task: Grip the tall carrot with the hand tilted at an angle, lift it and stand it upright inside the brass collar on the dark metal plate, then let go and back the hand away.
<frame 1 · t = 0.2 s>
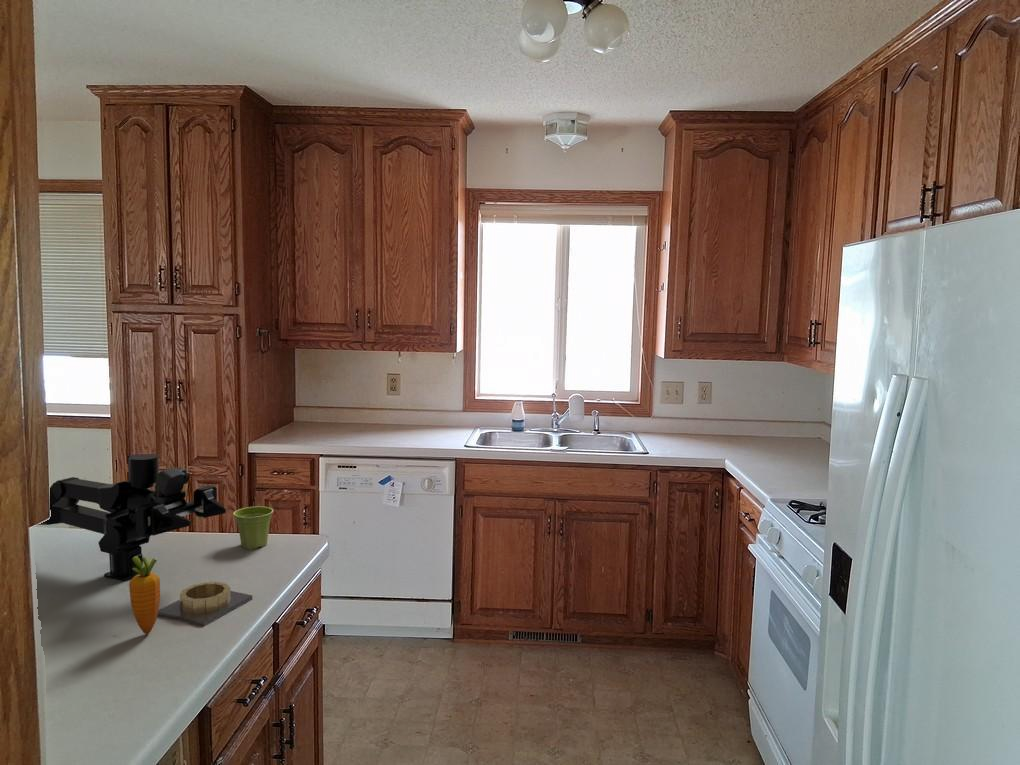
hand: (208, 516, 143), 17 cm above the countertop, tool horizontal, fingers open, 9 cm apart
plant pot: (254, 545, 175), on the countertop
carrot: (147, 635, 128), on the countertop
collar plate: (205, 606, 139), on the countertop
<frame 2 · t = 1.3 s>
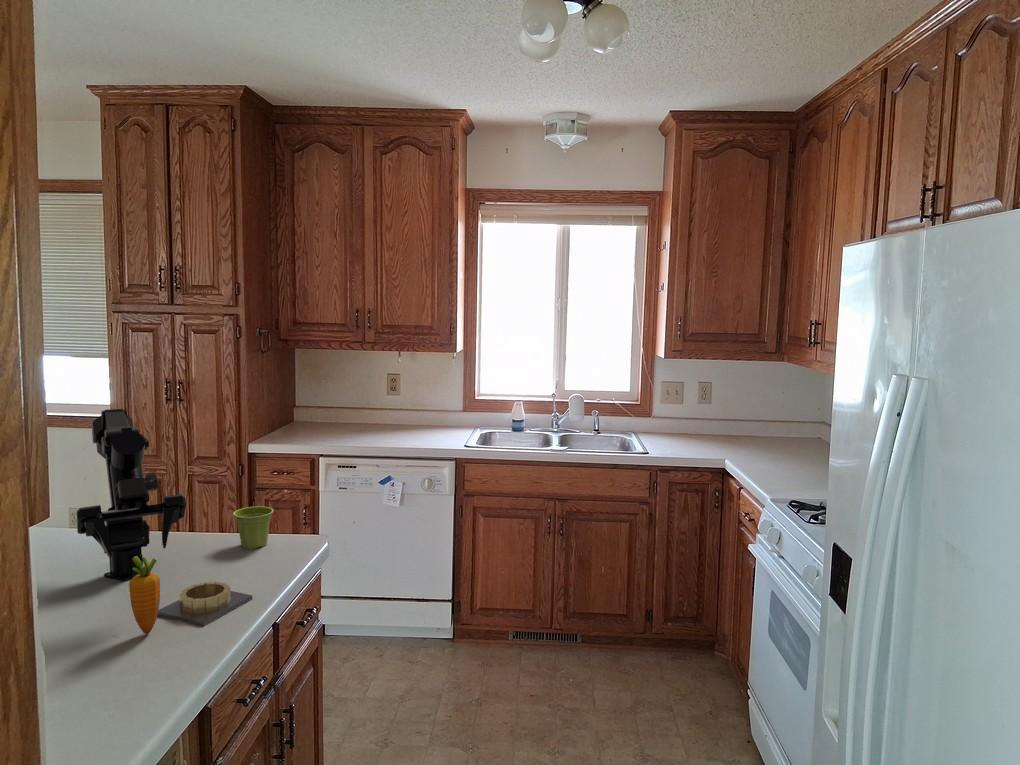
hand: (138, 551, 132), 13 cm above the countertop, tool tilted 45°, fingers open, 9 cm apart
nothing on the countertop moved.
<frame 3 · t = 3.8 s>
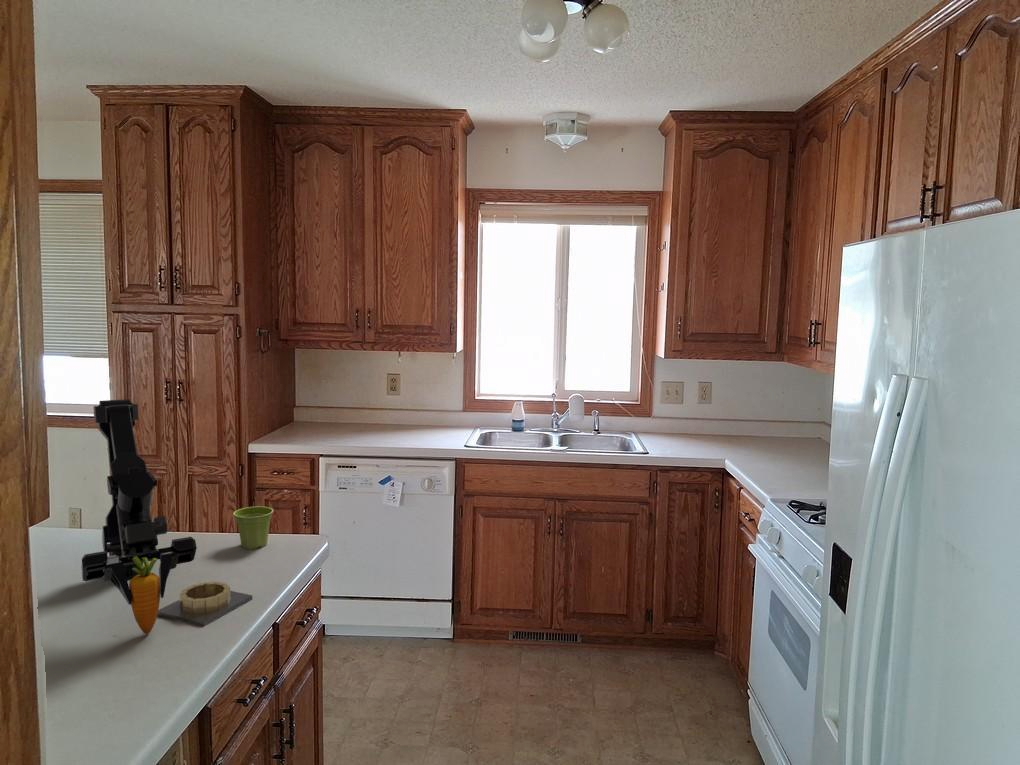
hand: (146, 600, 126), 7 cm above the countertop, tool tilted 45°, fingers closed on carrot, 5 cm apart
carrot: (147, 635, 128), on the countertop, touching gripper
everything else where it was.
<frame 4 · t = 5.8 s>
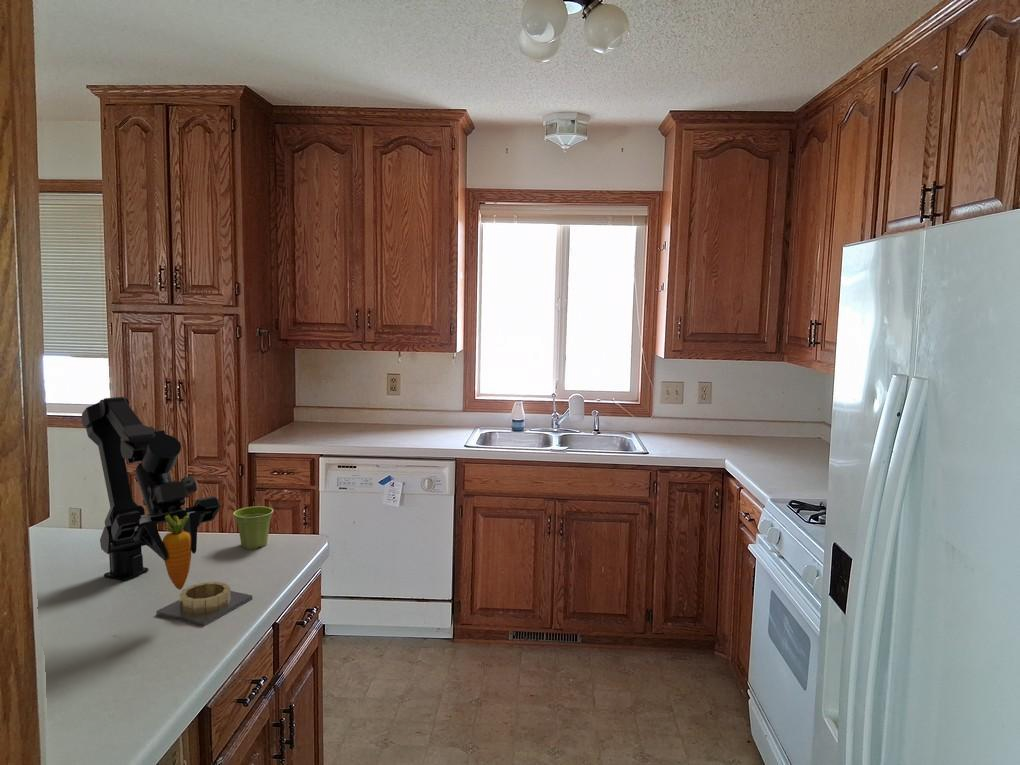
hand: (180, 555, 131), 13 cm above the countertop, tool tilted 45°, fingers closed on carrot, 5 cm apart
carrot: (180, 590, 133), point 6 cm above the countertop, touching gripper
everything else where it was.
when the fingers open (9 cm above the countertop, at t = 7.7 s): carrot drops 1 cm, resting on collar plate.
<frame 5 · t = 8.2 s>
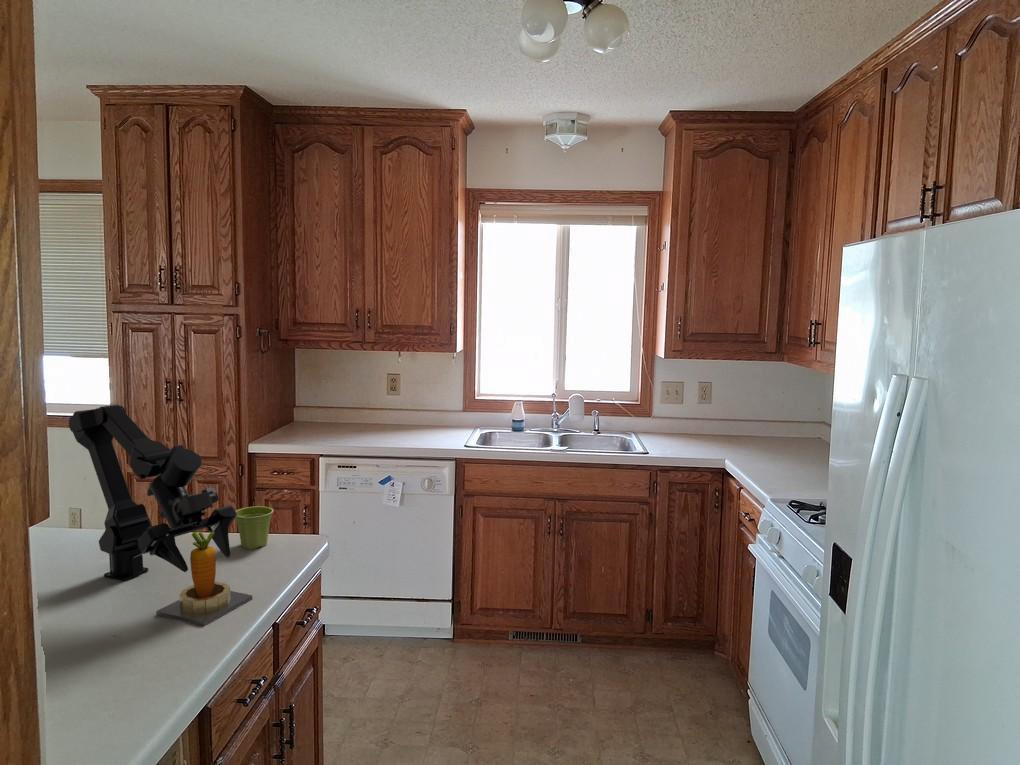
hand: (208, 563, 137), 9 cm above the countertop, tool tilted 45°, fingers open, 9 cm apart
carrot: (205, 603, 139), point 1 cm above the countertop, touching collar plate
everything else where it was.
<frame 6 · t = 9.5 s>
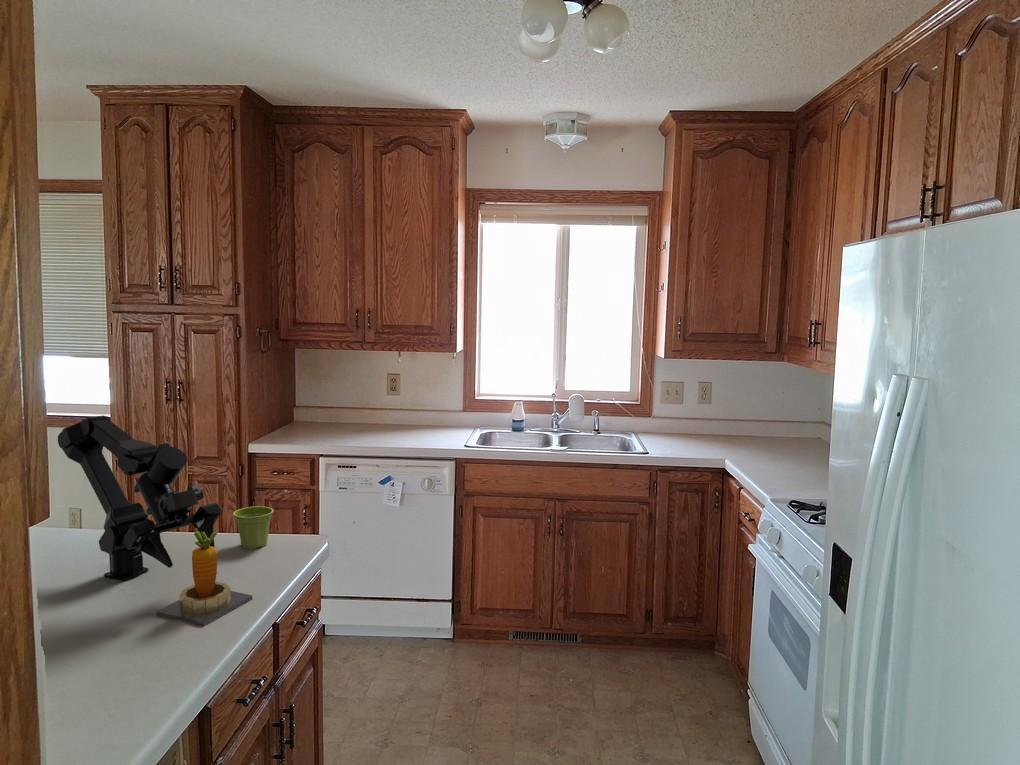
hand: (192, 559, 140), 9 cm above the countertop, tool tilted 45°, fingers open, 9 cm apart
nothing on the countertop moved.
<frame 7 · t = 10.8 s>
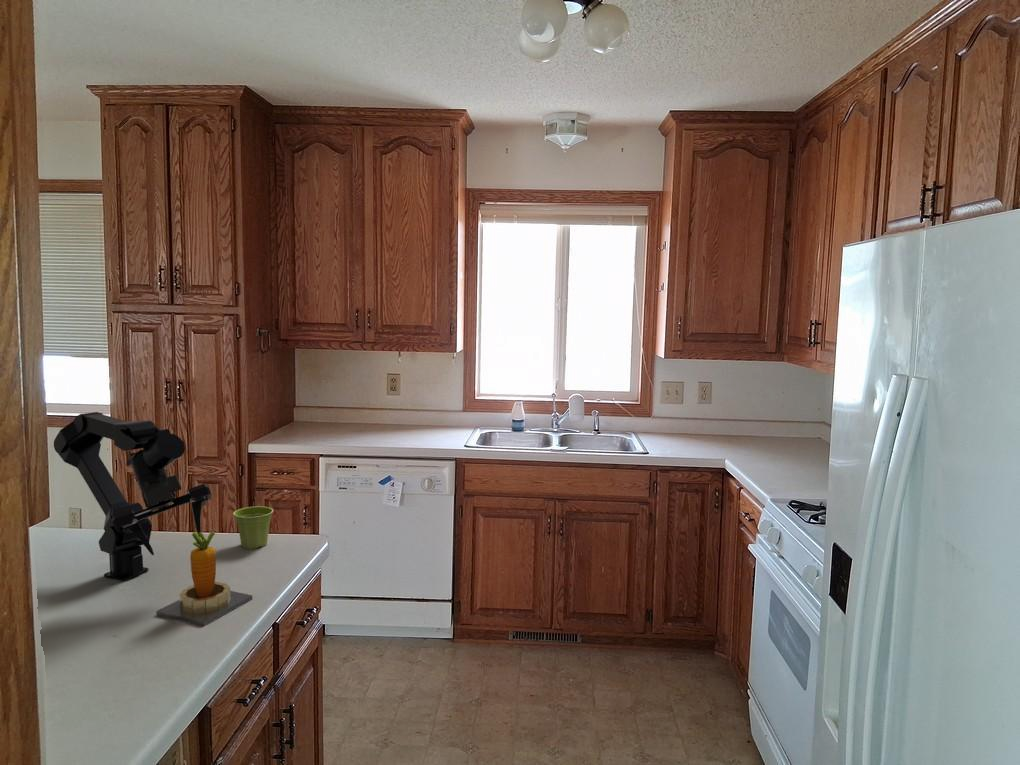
hand: (176, 545, 144), 10 cm above the countertop, tool tilted 30°, fingers open, 9 cm apart
nothing on the countertop moved.
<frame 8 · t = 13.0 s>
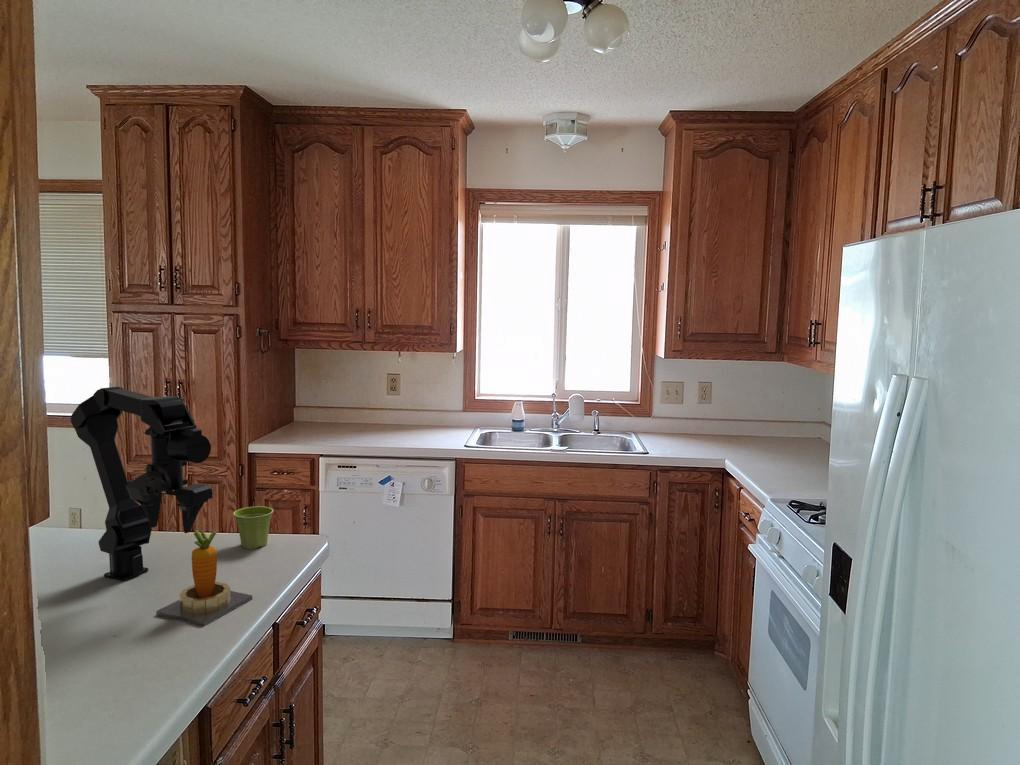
hand: (170, 529, 146), 13 cm above the countertop, tool pointing down, fingers open, 9 cm apart
nothing on the countertop moved.
at the end: carrot 0.3 cm off-centre on the collar plate, point 0.6 cm above the collar plate's base; carrot tilted 1°; the gripper is holding nothing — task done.
